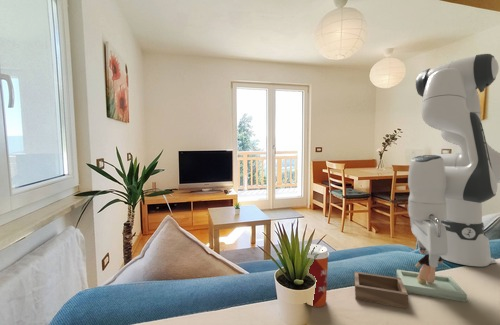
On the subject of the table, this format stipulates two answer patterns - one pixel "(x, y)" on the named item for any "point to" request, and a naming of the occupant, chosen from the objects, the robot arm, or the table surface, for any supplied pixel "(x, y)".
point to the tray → (432, 286)
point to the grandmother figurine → (426, 270)
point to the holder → (380, 289)
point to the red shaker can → (319, 273)
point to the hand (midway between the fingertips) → (427, 259)
